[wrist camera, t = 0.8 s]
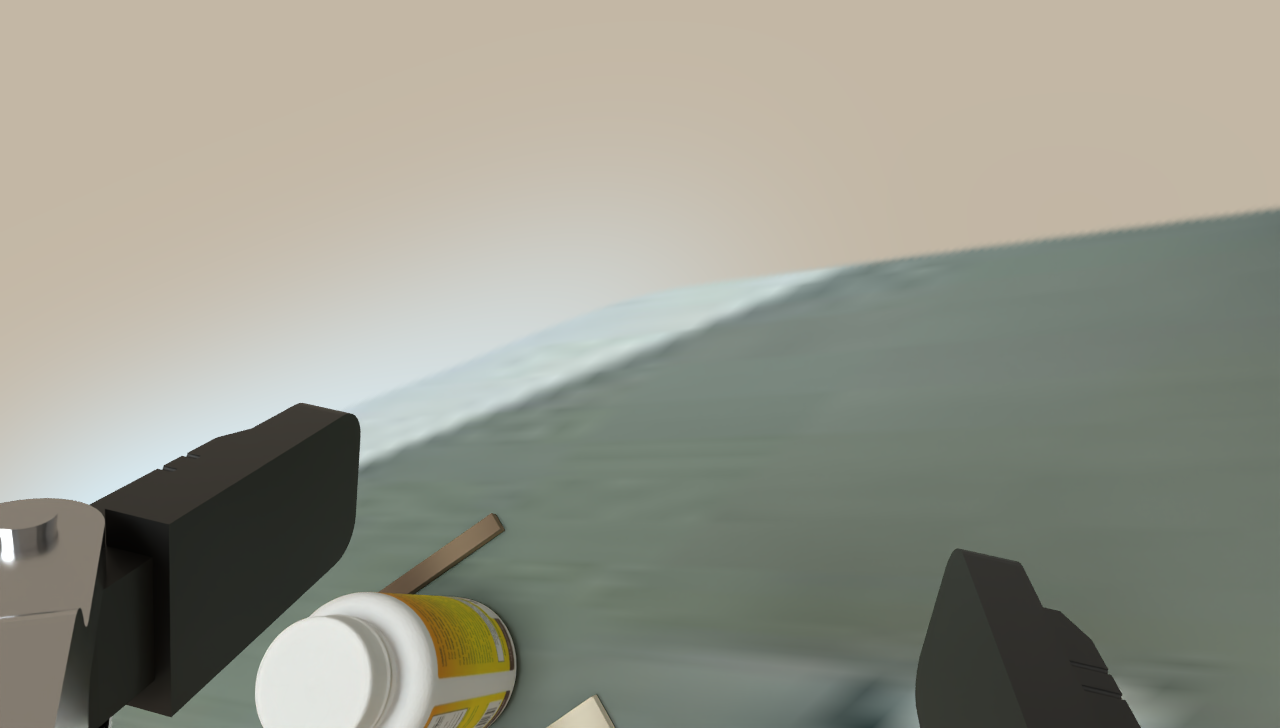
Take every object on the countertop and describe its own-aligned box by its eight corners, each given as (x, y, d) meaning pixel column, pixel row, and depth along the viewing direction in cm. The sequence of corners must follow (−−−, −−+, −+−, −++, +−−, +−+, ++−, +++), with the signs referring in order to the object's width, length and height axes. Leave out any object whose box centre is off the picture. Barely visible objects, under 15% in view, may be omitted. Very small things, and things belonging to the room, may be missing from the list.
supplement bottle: (419, 583, 37) (267, 568, 27) (537, 616, 35) (419, 613, 25) (379, 718, 35) (204, 753, 26) (499, 759, 34) (360, 812, 24)
